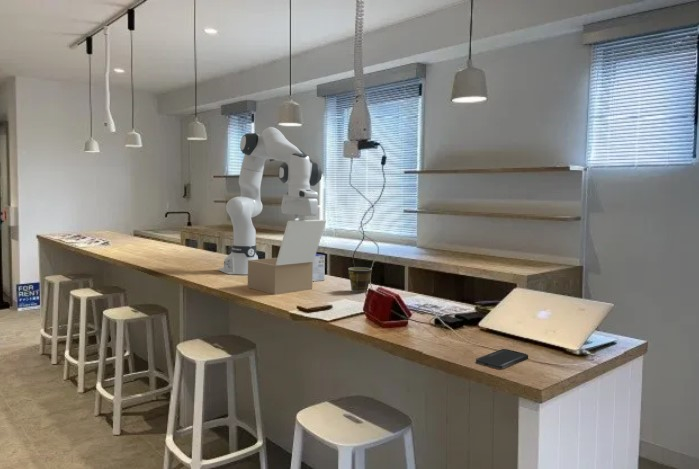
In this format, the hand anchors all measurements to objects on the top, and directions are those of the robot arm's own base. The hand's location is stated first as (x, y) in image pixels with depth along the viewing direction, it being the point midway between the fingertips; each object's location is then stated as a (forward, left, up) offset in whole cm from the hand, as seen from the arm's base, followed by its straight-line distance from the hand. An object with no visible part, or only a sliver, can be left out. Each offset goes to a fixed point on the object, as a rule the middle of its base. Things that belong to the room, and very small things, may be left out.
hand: (298, 225), depth 226 cm
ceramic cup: (+15, +21, -28) cm, 38 cm away
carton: (-12, 0, -28) cm, 31 cm away
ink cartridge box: (-19, +25, -29) cm, 43 cm away
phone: (+105, -14, -29) cm, 109 cm away
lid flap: (+1, 0, -6) cm, 7 cm away
